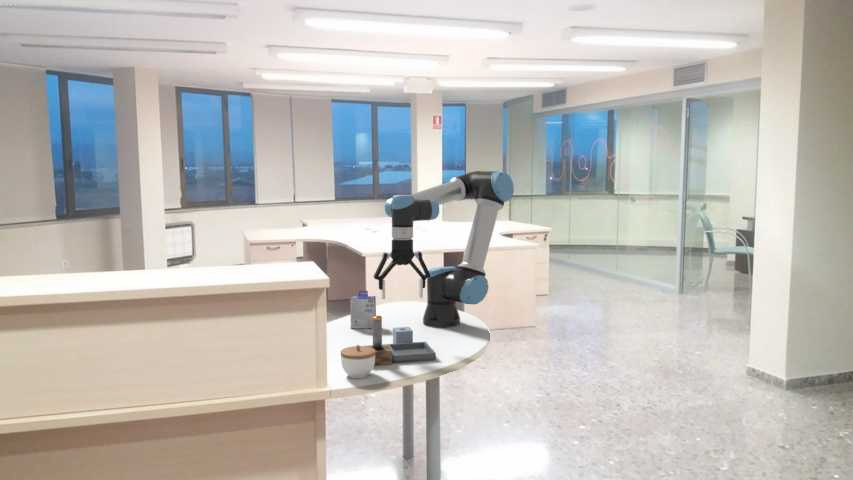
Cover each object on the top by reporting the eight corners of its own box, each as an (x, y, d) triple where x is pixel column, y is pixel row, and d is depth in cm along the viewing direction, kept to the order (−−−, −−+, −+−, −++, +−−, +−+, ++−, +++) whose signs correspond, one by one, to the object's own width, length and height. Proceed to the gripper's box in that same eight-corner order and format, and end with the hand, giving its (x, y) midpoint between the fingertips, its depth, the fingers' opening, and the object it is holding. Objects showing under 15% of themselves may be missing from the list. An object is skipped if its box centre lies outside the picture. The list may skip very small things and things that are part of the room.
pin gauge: (381, 356, 216) (380, 315, 214) (383, 359, 213) (382, 317, 211) (372, 357, 215) (371, 316, 213) (373, 360, 212) (373, 318, 210)
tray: (425, 348, 229) (425, 341, 229) (435, 360, 216) (435, 352, 215) (386, 351, 226) (386, 344, 226) (394, 363, 212) (394, 355, 212)
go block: (387, 357, 219) (387, 344, 218) (391, 364, 211) (391, 350, 211) (363, 358, 217) (363, 345, 217) (367, 366, 209) (367, 352, 209)
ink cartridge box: (376, 325, 262) (376, 290, 260) (375, 328, 256) (375, 292, 255) (351, 325, 262) (351, 290, 260) (350, 328, 256) (350, 292, 254)
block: (409, 342, 237) (409, 326, 236) (412, 347, 231) (412, 330, 231) (392, 343, 236) (392, 327, 235) (396, 348, 230) (396, 331, 229)
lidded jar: (377, 369, 206) (377, 340, 205) (374, 381, 195) (373, 350, 194) (343, 369, 206) (343, 340, 205) (338, 380, 196) (338, 350, 194)
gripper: (368, 240, 222) (369, 301, 225) (439, 239, 228) (438, 298, 231) (365, 238, 229) (365, 297, 232) (434, 236, 235) (433, 294, 238)
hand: (402, 298), depth 231 cm, fingers open, 13 cm apart
